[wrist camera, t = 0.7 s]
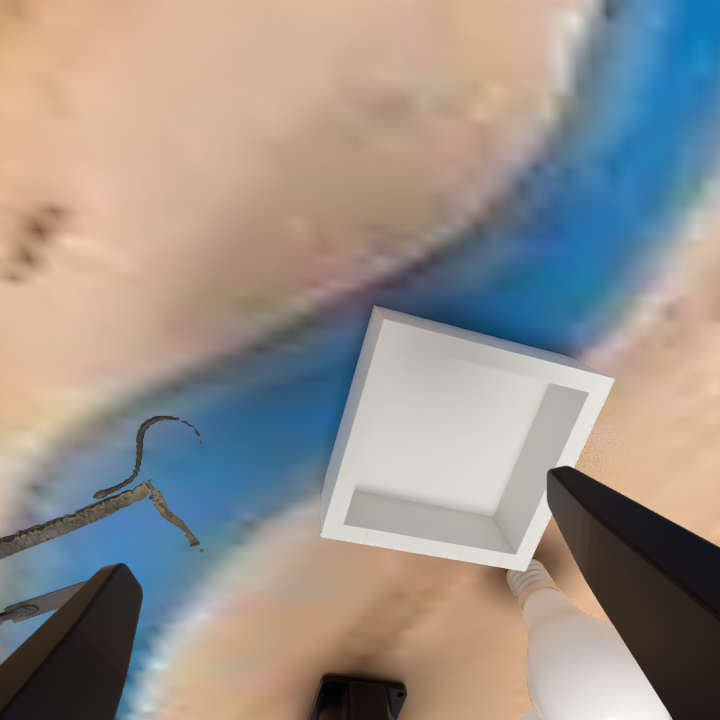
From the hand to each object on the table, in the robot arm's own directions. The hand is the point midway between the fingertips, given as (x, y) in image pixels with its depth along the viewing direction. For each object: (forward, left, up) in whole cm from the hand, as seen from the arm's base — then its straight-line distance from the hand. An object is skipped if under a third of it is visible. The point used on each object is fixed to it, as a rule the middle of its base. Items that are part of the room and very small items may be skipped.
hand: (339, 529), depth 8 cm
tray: (-3, -8, -15) cm, 17 cm away
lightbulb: (-12, -17, -15) cm, 25 cm away
